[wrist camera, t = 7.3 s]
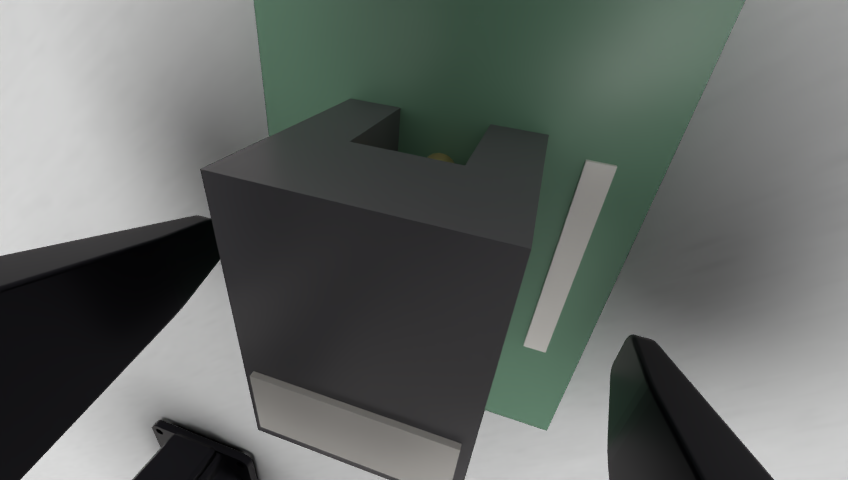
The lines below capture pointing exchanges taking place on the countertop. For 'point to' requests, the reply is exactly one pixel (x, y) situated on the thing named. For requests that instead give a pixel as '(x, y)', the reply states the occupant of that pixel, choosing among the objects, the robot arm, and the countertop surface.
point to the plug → (374, 283)
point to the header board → (519, 127)
